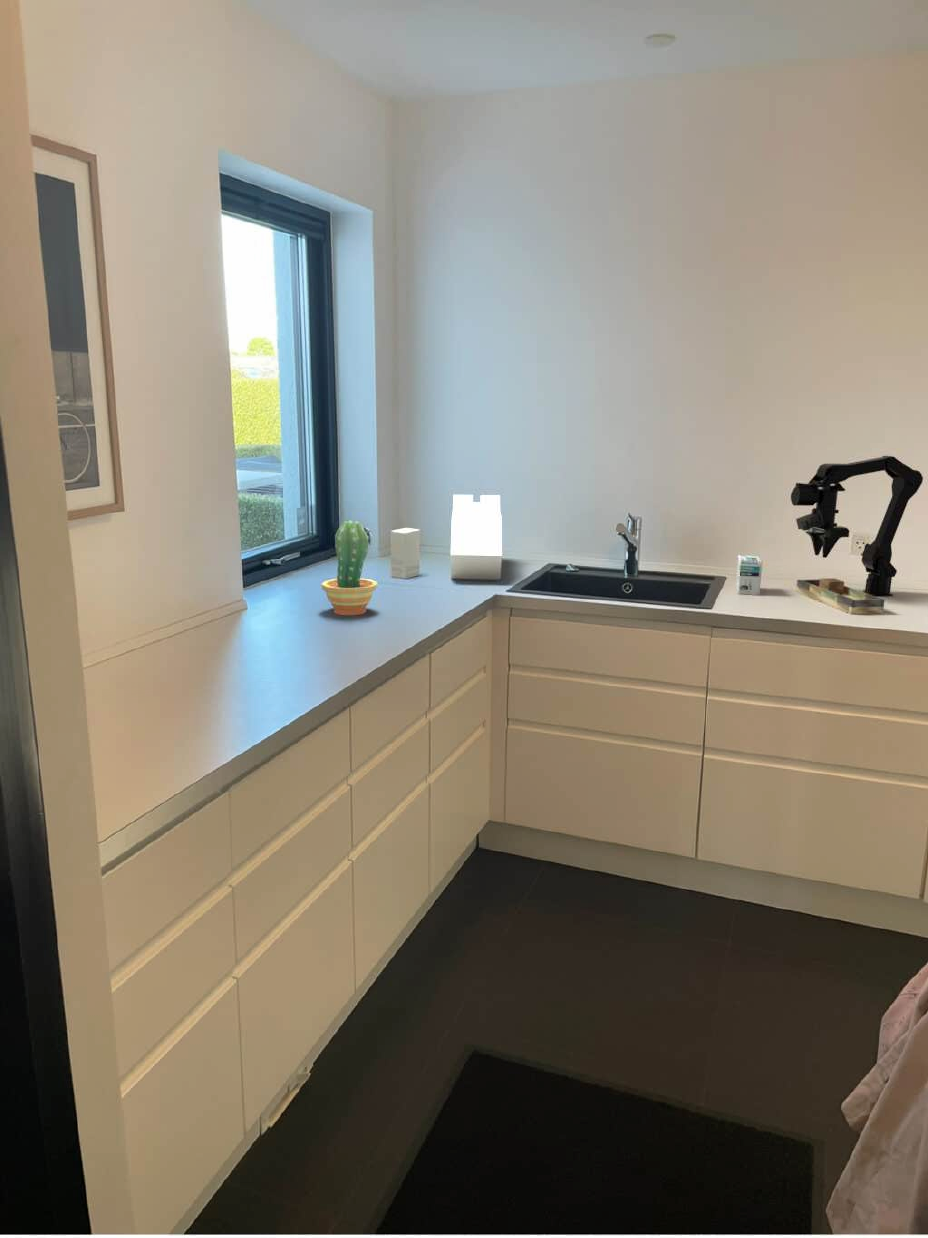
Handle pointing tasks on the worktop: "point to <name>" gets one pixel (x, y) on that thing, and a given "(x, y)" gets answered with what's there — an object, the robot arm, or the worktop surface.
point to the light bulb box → (748, 575)
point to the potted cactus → (350, 571)
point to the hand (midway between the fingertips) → (820, 556)
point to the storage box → (476, 538)
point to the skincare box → (405, 553)
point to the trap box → (842, 598)
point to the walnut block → (832, 585)
